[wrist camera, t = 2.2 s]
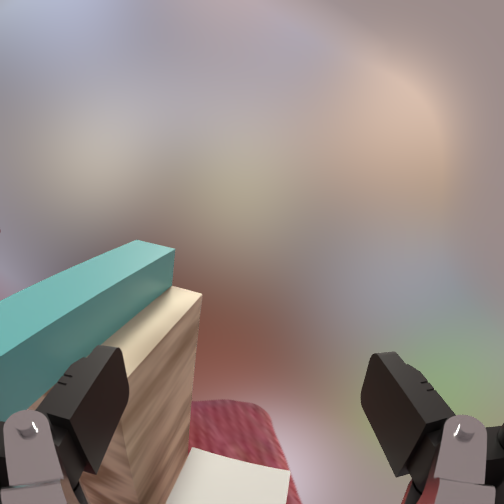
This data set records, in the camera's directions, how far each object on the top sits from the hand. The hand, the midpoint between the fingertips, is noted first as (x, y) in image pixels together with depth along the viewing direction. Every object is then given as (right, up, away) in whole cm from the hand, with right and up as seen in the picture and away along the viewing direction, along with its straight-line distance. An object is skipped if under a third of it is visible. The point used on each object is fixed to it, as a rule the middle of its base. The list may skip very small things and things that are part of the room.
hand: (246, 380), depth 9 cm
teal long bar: (-11, -1, +8) cm, 14 cm away
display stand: (-16, -31, +20) cm, 40 cm away
